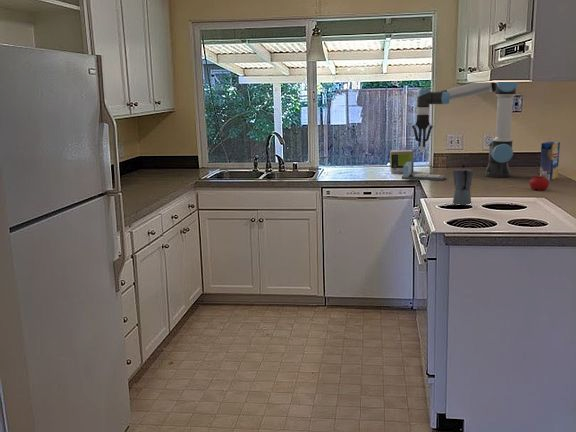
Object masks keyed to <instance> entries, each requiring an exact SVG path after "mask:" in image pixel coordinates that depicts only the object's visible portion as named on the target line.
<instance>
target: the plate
mask: <svg viewBox="0 0 576 432" xmlns="http://www.w3.org/2000/svg"><path fill="white" fill-rule="evenodd" d="M445 178H446V174H445V175H444V174H425V173H422V174H421V173H411V174H410V175H409V177H403V175H402V176H401V180H419V181H442V182H443V180H444V179H445Z"/></svg>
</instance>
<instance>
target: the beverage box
mask: <svg viewBox="0 0 576 432" xmlns="http://www.w3.org/2000/svg"><path fill="white" fill-rule="evenodd" d="M540 146H541V147H540V160H539V161H540V163H539V173H540V177H541V176H542V177H543V176H545V177H544V178H547V179H548V180H549V181H552V179H553V180H554V179H555V178H556V179H558V175H559V174H558V173H559V163H560V161H559V160H560V150H561V149H560V148H561V147H560V146H561V142H557V141H547V142H546V141H544V142H541V145H540Z"/></svg>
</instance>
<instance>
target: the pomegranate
mask: <svg viewBox="0 0 576 432" xmlns="http://www.w3.org/2000/svg"><path fill="white" fill-rule="evenodd" d="M537 174H538V175H535V176H533V177H532V178H531V179H530V180H529V187H530V189H531V190H532V189H537V190H536V191H545V190H547V189H548V188H549V185H550V180H548V179H547V178H544V177H545V176H543V177H542V176H541V177H540V172H538V173H537Z"/></svg>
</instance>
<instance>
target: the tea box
mask: <svg viewBox="0 0 576 432" xmlns="http://www.w3.org/2000/svg"><path fill="white" fill-rule="evenodd" d="M389 153H390V154H389V157H390V161H389V162H390V164H389V166H390V167H389V170H390V173H391V174H403V165H405V164H406V162H407V161H413V173H414V171H415V170H414V168H415V167H414V163H415V162H414V157H415V156H414V155H415V154H414V153H415V152H414V151H413V149H402V150H401V149H400V150H398V149H397V150H395V149H393V150H390V151H389Z"/></svg>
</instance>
